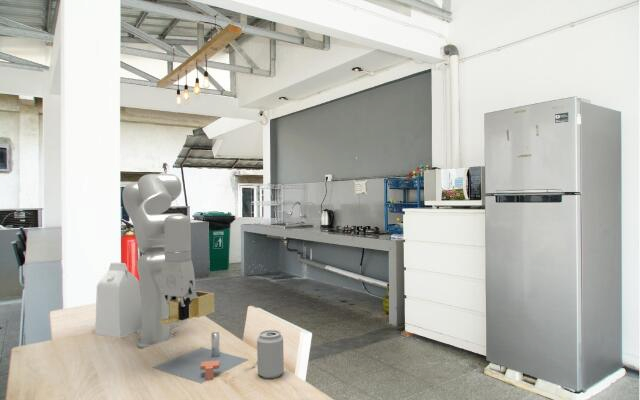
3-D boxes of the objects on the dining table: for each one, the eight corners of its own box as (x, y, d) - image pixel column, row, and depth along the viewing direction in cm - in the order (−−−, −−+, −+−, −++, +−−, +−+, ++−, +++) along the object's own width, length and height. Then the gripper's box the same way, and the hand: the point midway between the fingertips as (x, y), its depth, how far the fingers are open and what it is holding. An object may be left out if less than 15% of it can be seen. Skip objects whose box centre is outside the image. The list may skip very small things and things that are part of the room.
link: (198, 309, 142) (197, 290, 142) (214, 311, 139) (214, 293, 139) (154, 324, 127) (154, 303, 127) (172, 327, 124) (171, 306, 124)
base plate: (152, 372, 128) (152, 367, 128) (201, 351, 144) (201, 347, 144) (200, 388, 117) (200, 383, 117) (248, 364, 133) (248, 359, 133)
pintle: (210, 361, 136) (209, 333, 136) (215, 358, 138) (215, 331, 138) (215, 362, 135) (215, 335, 134) (221, 360, 137) (220, 333, 136)
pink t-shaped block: (202, 377, 124) (201, 361, 124) (220, 376, 125) (220, 360, 124) (199, 385, 119) (199, 368, 119) (218, 384, 120) (218, 367, 119)
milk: (143, 328, 170) (141, 261, 169) (120, 337, 159) (118, 266, 158) (119, 325, 174) (117, 260, 173) (95, 334, 163) (93, 264, 163)
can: (287, 370, 128) (287, 329, 128) (277, 381, 121) (276, 338, 121) (264, 367, 131) (264, 327, 130) (252, 377, 124) (252, 335, 123)
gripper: (148, 256, 131) (149, 317, 131) (189, 260, 123) (190, 325, 123) (167, 253, 138) (169, 311, 138) (207, 256, 130) (209, 318, 130)
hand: (179, 317), depth 131 cm, fingers closed on link, 3 cm apart
